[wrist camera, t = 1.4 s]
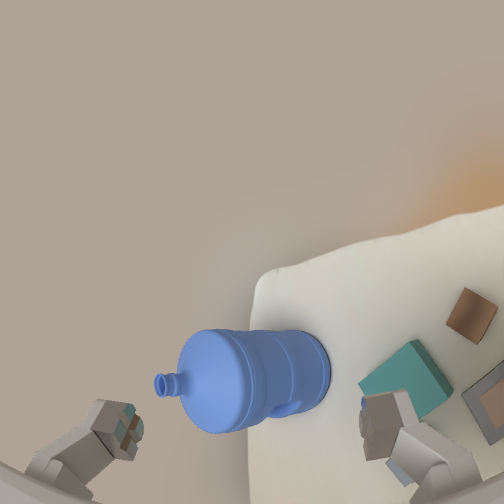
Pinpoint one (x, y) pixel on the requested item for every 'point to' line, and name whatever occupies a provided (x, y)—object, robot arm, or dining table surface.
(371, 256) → the dining table surface
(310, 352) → the water jug
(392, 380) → the teal base block
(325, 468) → the dining table surface
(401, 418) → the robot arm
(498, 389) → the card
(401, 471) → the slate grey block
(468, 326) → the walnut block
